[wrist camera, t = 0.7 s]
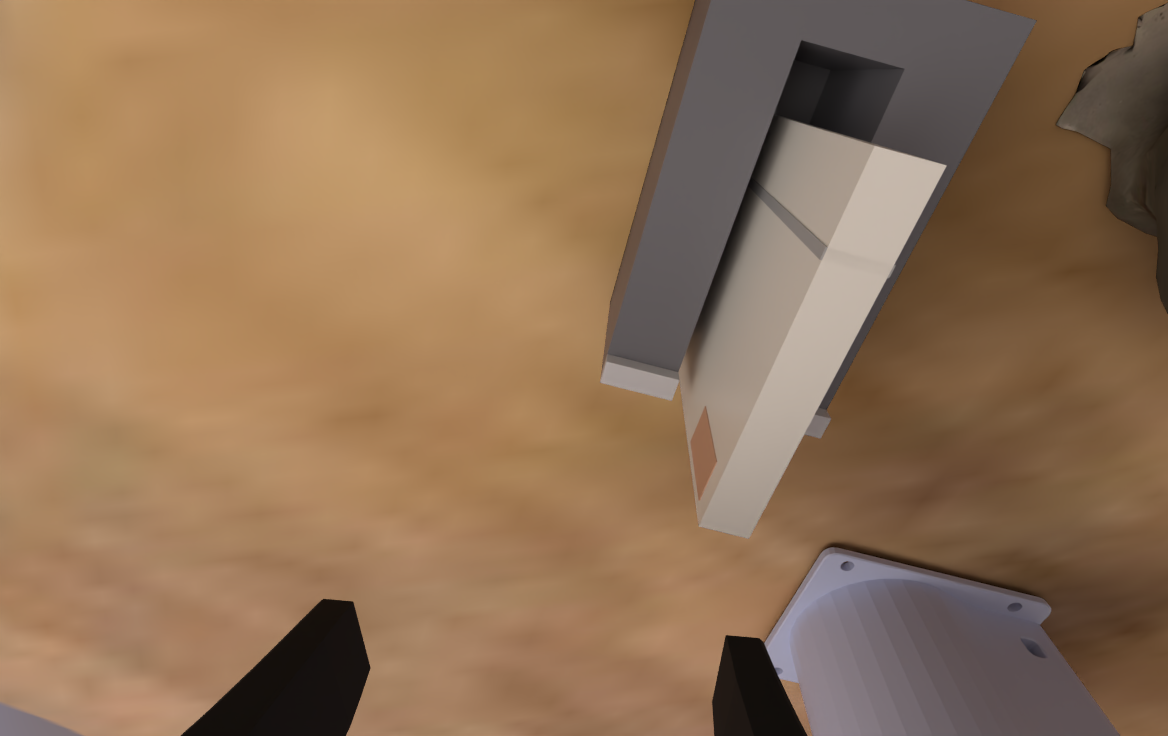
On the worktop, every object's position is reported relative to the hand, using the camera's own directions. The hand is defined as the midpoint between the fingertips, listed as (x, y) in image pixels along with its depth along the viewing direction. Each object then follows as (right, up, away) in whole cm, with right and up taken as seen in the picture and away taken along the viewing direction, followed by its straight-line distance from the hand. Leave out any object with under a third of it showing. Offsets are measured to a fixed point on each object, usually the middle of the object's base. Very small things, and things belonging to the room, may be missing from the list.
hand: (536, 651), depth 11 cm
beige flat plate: (+5, +9, +5) cm, 12 cm away
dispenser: (+6, +11, +5) cm, 13 cm away
